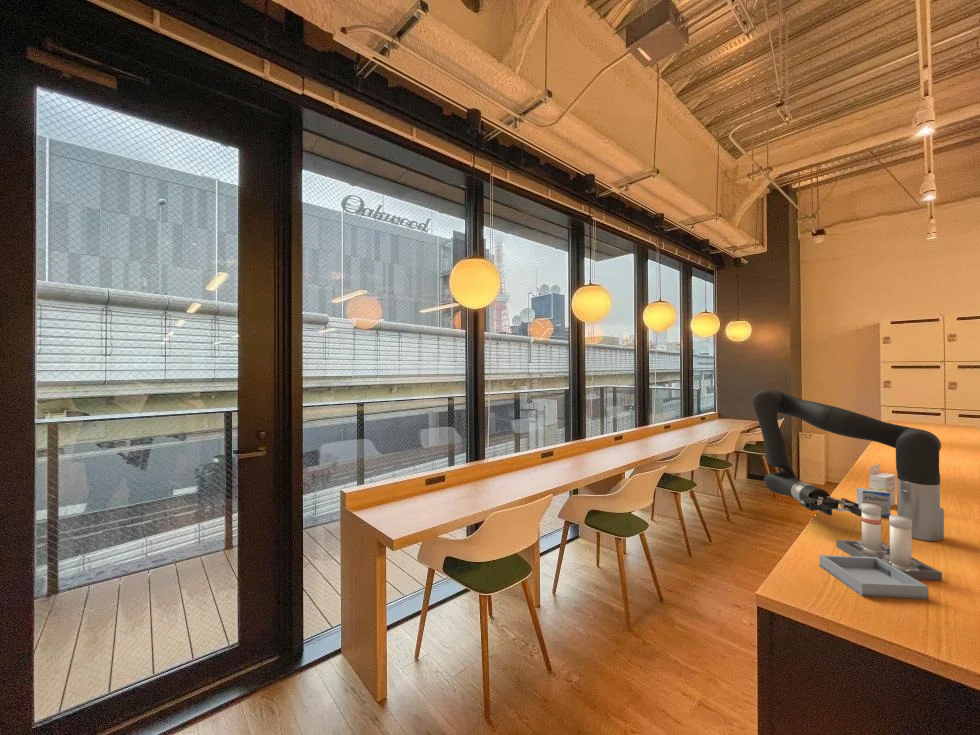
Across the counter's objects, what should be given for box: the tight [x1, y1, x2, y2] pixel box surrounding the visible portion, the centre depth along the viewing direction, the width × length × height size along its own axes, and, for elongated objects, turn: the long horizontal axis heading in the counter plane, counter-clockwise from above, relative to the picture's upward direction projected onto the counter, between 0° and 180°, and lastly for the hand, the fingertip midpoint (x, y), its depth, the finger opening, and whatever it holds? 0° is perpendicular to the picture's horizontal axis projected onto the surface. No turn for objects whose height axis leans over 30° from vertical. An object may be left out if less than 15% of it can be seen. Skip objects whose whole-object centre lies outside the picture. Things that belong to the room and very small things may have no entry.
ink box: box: [869, 464, 896, 508], centre depth 152 cm, size 9×5×15 cm, turn 117°
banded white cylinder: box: [860, 503, 882, 557], centre depth 113 cm, size 4×4×14 cm
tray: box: [819, 554, 929, 600], centre depth 100 cm, size 14×14×3 cm
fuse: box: [888, 514, 913, 569], centre depth 104 cm, size 4×4×14 cm
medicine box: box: [856, 487, 891, 518], centre depth 143 cm, size 8×4×9 cm, turn 68°
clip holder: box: [835, 539, 943, 581], centre depth 109 cm, size 12×18×2 cm
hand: (846, 512), depth 122 cm, fingers open, 8 cm apart
